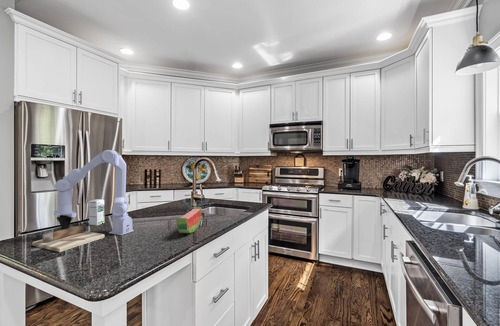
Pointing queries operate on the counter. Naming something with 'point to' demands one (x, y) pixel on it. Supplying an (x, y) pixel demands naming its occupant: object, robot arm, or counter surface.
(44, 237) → the lever
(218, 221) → the counter surface
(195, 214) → the fruit slice
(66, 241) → the board
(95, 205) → the syrup box
